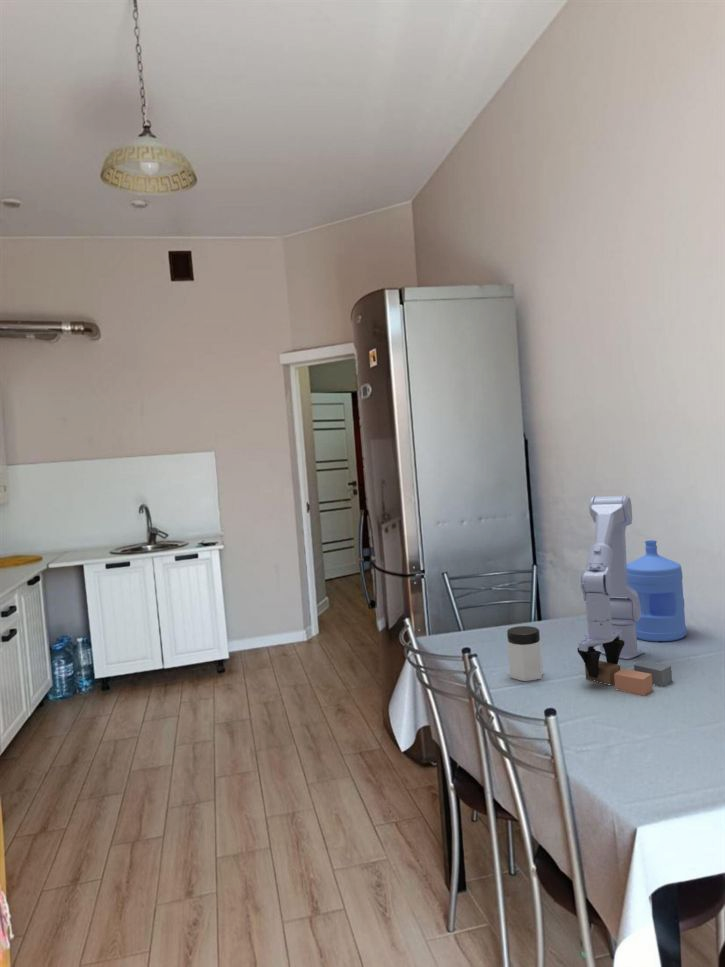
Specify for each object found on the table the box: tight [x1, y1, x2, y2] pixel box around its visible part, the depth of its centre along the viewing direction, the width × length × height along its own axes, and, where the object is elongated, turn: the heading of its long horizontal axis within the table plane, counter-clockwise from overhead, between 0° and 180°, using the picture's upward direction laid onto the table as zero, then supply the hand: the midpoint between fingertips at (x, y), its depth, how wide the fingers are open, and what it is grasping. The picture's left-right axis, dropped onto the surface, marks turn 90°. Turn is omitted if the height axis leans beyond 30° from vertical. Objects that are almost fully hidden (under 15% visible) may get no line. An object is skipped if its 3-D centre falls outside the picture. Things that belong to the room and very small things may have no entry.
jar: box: [506, 625, 544, 682], centre depth 171 cm, size 9×8×12 cm
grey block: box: [633, 660, 673, 687], centre depth 160 cm, size 7×4×4 cm, turn 37°
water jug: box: [627, 539, 687, 642], centre depth 195 cm, size 16×16×28 cm
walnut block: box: [584, 659, 621, 686], centre depth 164 cm, size 7×4×4 cm, turn 34°
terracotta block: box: [614, 668, 654, 697], centre depth 156 cm, size 7×4×4 cm, turn 42°
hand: (603, 672), depth 164 cm, fingers open, 7 cm apart
